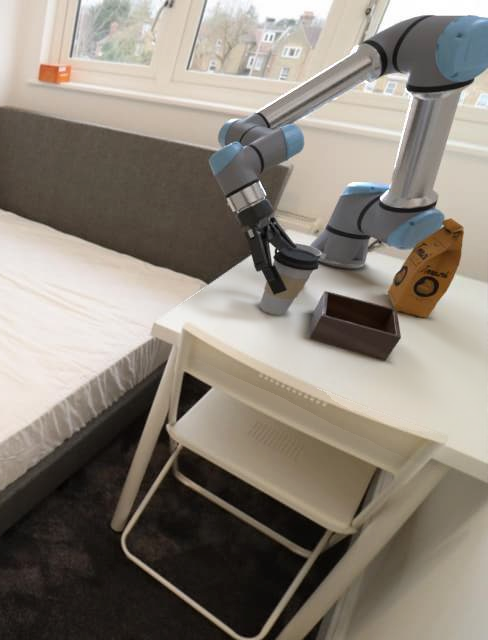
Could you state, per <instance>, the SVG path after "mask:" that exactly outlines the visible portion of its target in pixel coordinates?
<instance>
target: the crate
mask: <svg viewBox="0 0 488 640" xmlns="http://www.w3.org/2000/svg"><path fill="white" fill-rule="evenodd" d="M401 338H402V335H401V328H400V322H399V315H398V311H397V309H394V307H393V308H392V307H389V306H385V305H381V304H377V303H374V302H370V301H365V300H362V299H358V298H354V297H351V296H347V295H343V294H338V293H336V292H335V293H334V292H331V291H326V290H324V291H323V293H322V295H321V297H320V299H319V300H318V303H317V304H316V306H315V308H314V309H313V312H312V317H311V325H310V331H309V339H310V340H313V341H316V342H320V343H323V344H326V345H330V346H332V347H333V346H334V347H336V348H340V349H344V350H347V351H349V352H353V353H356V354H361V355H364V356H367V357H371V358H374V359H377V360H381V361H384V362H386V361H387V359H388V358H389V357H390V355H391V353H392V352H393V351H394V349H395V347H396V346H397V344H399V342H400V340H401Z"/></svg>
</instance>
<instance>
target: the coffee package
mask: <svg viewBox="0 0 488 640" xmlns="http://www.w3.org/2000/svg"><path fill="white" fill-rule="evenodd" d="M442 224H443V225H442V227H441V228H440V229H439V230H438V231H436V232H434V233H433V234H431V235H429V236H428V237H426V238H425V239H423V240H422V241H420V242H419V243H417V244H416V245H415V247H414V248H413V249H411V250H412V251H411V252H410V253H409V255H408V256H407V258H405V259H406V260H405V261H404V262H403V264H402V265H401V268H400V269H399V270H398V271H397V272H396V273H395V275H394V276H393V279H392V282H391V285H390V287H389V288H388V289H387V291H386V293H387V296H388V298H389V301H390V303H391V305H392V307H393V308H394V309H397V312H403V313H404V314H406V315H407V314H408V315H412V316H416V317H419V318H424V319H427V318H429V316H430V315H431V313H432V312H433V311H434V309H435V308H436V306H437V304H438V303H439V302H440V300H441V299H442V298H443V296H444V295H445V294H446V292H447V291H448V289H449V287H450V286H451V284H452V282H453V280H454V278H455V275H456V272H457V270H458V268H459V266H460V262H461V259H462V254H463V253H462V252H463V251H462V249H463V242H464V234H465V232H464V226H463V225H461V224H460V223H459V222H457V221H456V220H454V219H453V218H452V217H451V218H447V219H444V221H443V222H442Z"/></svg>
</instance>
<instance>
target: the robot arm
mask: <svg viewBox="0 0 488 640" xmlns="http://www.w3.org/2000/svg"><path fill="white" fill-rule="evenodd" d="M487 69H488V17H485V16H479V15H471V14H466V15H435V14H423V15H418V16H413V17H410V18H408V19H405V20H403V21H400V22H397V23H396V24H393V25H391V26H388V27H387V28H385V29H383V30H381V31H380V32H377V33H376V34H374V35H372V36H370V37H368V38H367V39H365V40H363V41H362V42H361V43H359V44H357V45H355V46H354V47H353V48H352V50H351V51H350V54H349V55H347V56H345V57H344V58H342V59H341V60H339V61H337V62H335V63H334V64H333V65H331V66H329V67H328V68H326V69H324V70H322V71H321V72H319V73H317V74H316V75H314V76H313V77H311V78H310V79H308V80H307V81H304V82H303V83H301V84H300V85H298V86H297V87H295V88H293V89H291V90H290V91H288V92H287V93H284V95H281V96H280V97H278V98H277V99H276V100H274V101H272V102H270V103H268V104H267V105H265V106H264V107H261V108H260V109H259V110H257V111H255V112H254V113H251V115H248V116H247V117H246V118H233V119H229V120H228V121H226V122H225V123H224V124H223V125H222V126H221V128H220V130H219V131H218V133H217V134H218V135H217V142H218V144H219V146H220V147H221V148H220V149H218V150H217V151H215V152H214V153H213V154H212V155H211V156H210V157H209V158H208V164H209V166H210V169H211V172H212V174H213V177H214V178H215V180H216V181H217V183H218V185H219V187H220V189H221V190H222V193H223V194H224V196H225V199H226V201H227V202H226V203H227V204H226V205H227V206H228V207H230V209H231V211H232V213H236V214H235V219H236V221H237V223H238V225H239V227H240V228H246V227H248V228H249V229H248V230H246V231H244V235H245V238H246V240H247V244H248V247H249V250H250V254H251V258H252V262H253V266H254V269H255V272H257V273H258V272H261V273H262V274H263V276H264V278H265V280H266V282H268V284H269V286H270V288H271V290H272V292H273V294H274V295H275V294H278V293H281V292H284V291H286V290H287V288H286V286H285V284H284V282H283V280H282V278H281V276H280V274H279V272H278V271H277V269H276V267H275V265H273V260H272V255H271V253H272V252H271V246H270V245H272V246H273V247H274V249H275V248H276V249H277V252H279V251H280V250H281V249H282V248H297V247H296V245H295V244H294V243H295V242H294V241H293V240H292V239H291V238H290V236H288V234H287V233H286V231H285V229H284V228H282V226H281V225H280V224H279V222H278V220H277V218H276V217H275V216H271V215H273V214H274V212H275V210H274V208H273V205H272V204H271V202H270V199H267V198H266V197H267V194H266V191H265V190H264V188H263V186H262V183H261V181H260V180H259V177H258V175H261V174H262V173H264V172H266V171H268V170H271V169H273V168H274V167H276V166H278V165H280V164H282V163H285V162H288V161H289V160H290V159H291V158H293V157H295V156H297V155H298V154H300V153H301V152H302V151H303V150H304V148H305V136H304V132H303V131H302V129H301V128H300V127H299V126H298V125H297V124H295V123H297V122H299V121H300V120H302V119H305V117H308V116H309V115H310V114H313V113H315V112H316V111H317V110H319V109H321V108H322V107H324V106H326V105H327V104H329V103H331V102H333V101H334V100H336V99H338V98H340V97H341V96H343V95H344V94H346V93H348V92H349V91H352V90H353V89H355V88H356V87H358V86H359V85H361V84H363V83H373V82H374V81H376V80H378V79H379V78H382V77H384V76H387V75H390V74H403V75H407V78H406V79H407V80H406V84H405V88H404V90H405V92H406V93H408V94H409V95H410V96H411V97H410V102H409V105H408V106H409V107H408V110H407V113H406V118H405V122H404V127H403V131H402V135H401V138H400V142H399V147H398V151H397V155H396V160H395V164H394V167H393V173H392V176H391V181H390V184H386V183H379V182H378V183H377V182H365V181H364V182H363V181H357V182H356V181H355V182H351V183H349V184H348V185H347V186H345V188H344V190H343V192H342V194H340V196H339V198H338V200H337V204H336V205H335V207H334V209H333V211H332V213H331V215H330V217H329V220H328V222H327V223H326V225H325V228H324V230H323V231H322V232H321V233H320V234H319V235H318V236H317V237H316V238H315V239H314V240H313V241H312V243H310V245H309V246H311V247H314V248H316V249H318V250H320V251H321V252H322V254H321V256H320V257H319V259H318V262H319V263H321V264H324V265H327V266H331V267H334V268H339V269H348V270H357V269H361V268H362V267H364V265H365V263H366V260H367V256H368V250H369V249H371V248H372V246H374V245H376V244H377V243H379V244H382V243H384V244H385V245H387V246H388V247H392V248H395V249H397V250H401V251H408V250H413V249H414V247H415V245H416V244H417V243H419V242H420V241H422V240H423V239H425V238H426V237H428V236H429V235H431V234H433V233H434V232H436V231H438V230H439V229H441V228H442V227H443V226H444V225H443V224H442V222H443V221H444V220H446V219H445V217H446V216H445V214H444V213H443V212H442V211H441V210H440V209H437V208H436V206H437V204H438V200H439V193H438V192H437V191H435V190H434V186H435V183H436V180H437V176H438V173H439V170H440V166H441V163H442V159H443V156H444V153H445V150H446V145H447V143H448V140H449V136H450V132H451V130H452V125H453V122H454V119H455V115H456V113H457V112H456V111H457V109H458V105H459V103H460V99H461V95H462V92H464V90H466V89H467V88H468V87H470V86H471V85H473V84H474V82H475V79H476V78H477V77H479V76H481V75H482V74H483V73H484V72H485V71H486V70H487ZM269 216H270V217H269ZM371 238H373V239H374V241H372V242H371V243H370V239H371Z"/></svg>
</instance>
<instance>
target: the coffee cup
mask: <svg viewBox="0 0 488 640" xmlns="http://www.w3.org/2000/svg"><path fill="white" fill-rule="evenodd" d="M272 258H273V262H272V266H273V265H275V267H276V269H277V271H278V272H279V274H280V276H281V278H282V280H283V282H284V284H285V286H286V288H287V290H286V291H284V292H281V293H278V294H275V295H274V294H273V292H272V290H271V288H270V286H269V284H268V282H267V281H266V283H265V285H264V291H263V294H262V297H261V300H260V303H259V309H260V310H261V311H263V312H265V313H267V314H270V315H274V316H283V315H285V314H286V313H287V311H288V310H289V309H290V307H291V305H292V304H293V303H294V301H295V299H296V298H297V297H298V296H299V294H300V293H301V291H302V290H303V288H304V287H305V285H306V284H307V282H308V281H309V279H310V276H311V275H312V273H313V271H316V270H318V269H319V266H320V262H318V257H317V256H316V255H315V254H313V253H311V252H308V251H306V250H302V249H297V248H282V249H281V250H280V251H277V253H276V254H275V253H274V255H273V257H272Z"/></svg>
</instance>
